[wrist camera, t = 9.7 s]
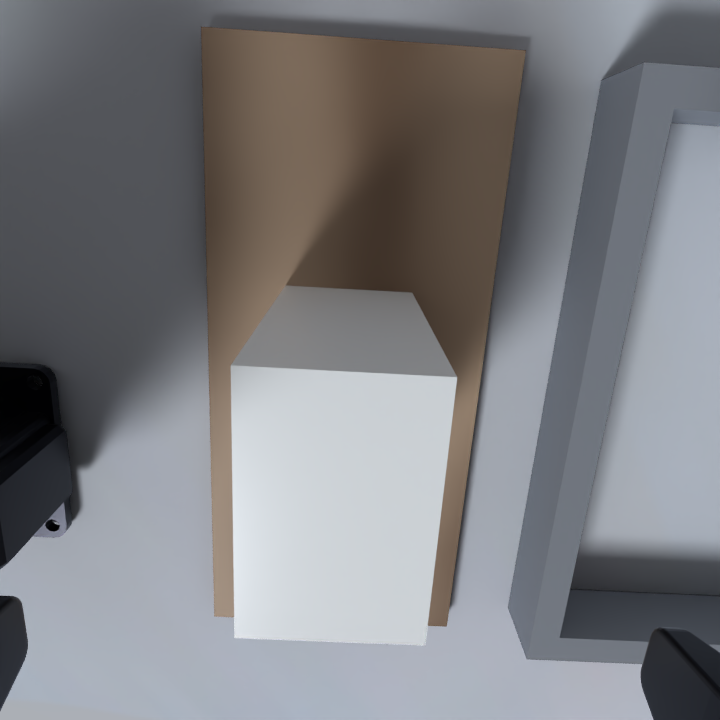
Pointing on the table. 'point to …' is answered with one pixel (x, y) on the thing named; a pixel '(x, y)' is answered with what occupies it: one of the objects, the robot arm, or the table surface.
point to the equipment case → (602, 378)
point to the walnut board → (353, 211)
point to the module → (338, 468)
